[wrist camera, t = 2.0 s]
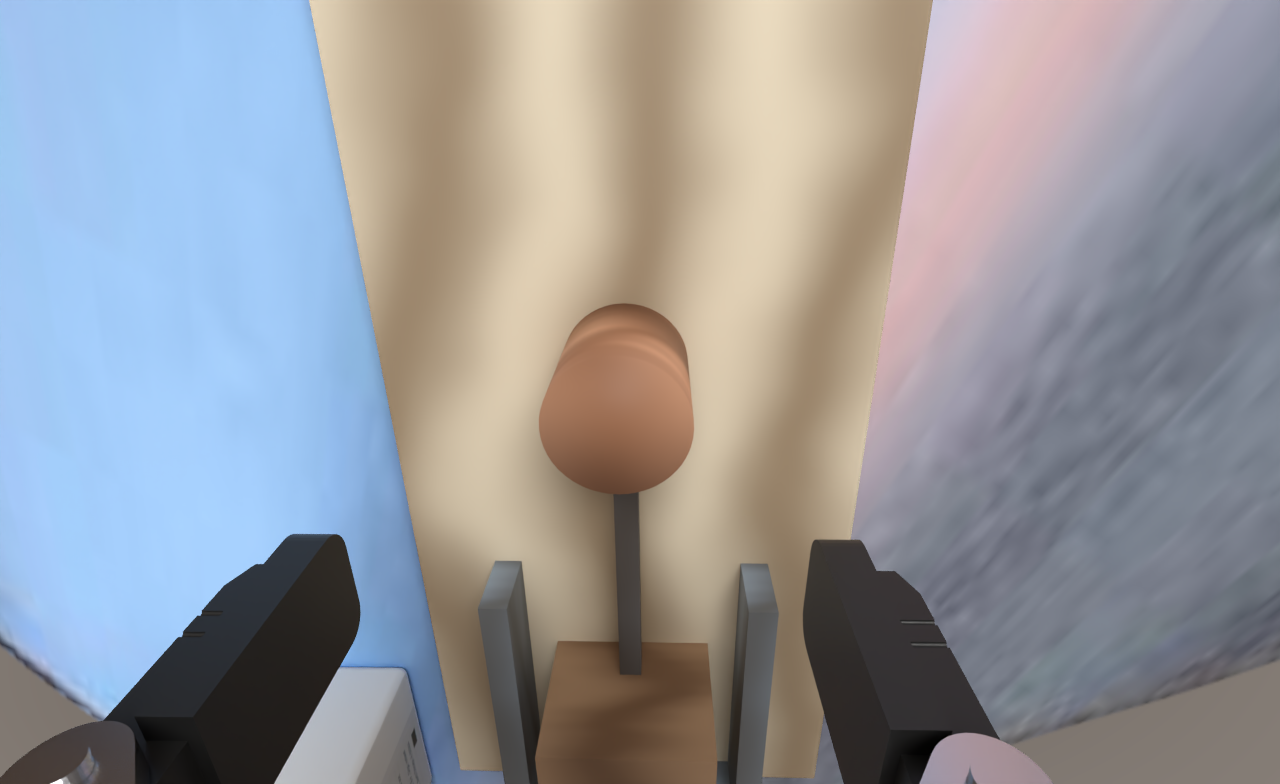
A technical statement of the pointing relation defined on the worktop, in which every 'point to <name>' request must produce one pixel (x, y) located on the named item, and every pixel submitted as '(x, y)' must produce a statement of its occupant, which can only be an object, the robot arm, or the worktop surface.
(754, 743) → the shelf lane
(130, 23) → the worktop surface
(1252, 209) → the worktop surface
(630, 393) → the wooden joystick
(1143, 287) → the worktop surface
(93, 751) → the robot arm
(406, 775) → the container
